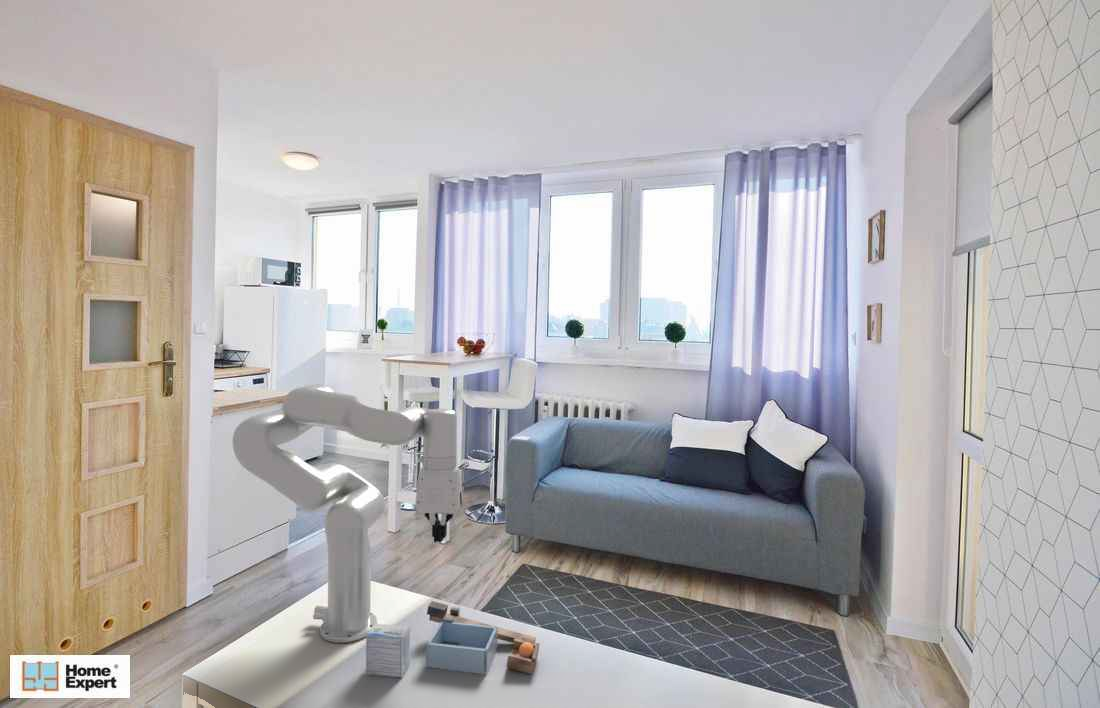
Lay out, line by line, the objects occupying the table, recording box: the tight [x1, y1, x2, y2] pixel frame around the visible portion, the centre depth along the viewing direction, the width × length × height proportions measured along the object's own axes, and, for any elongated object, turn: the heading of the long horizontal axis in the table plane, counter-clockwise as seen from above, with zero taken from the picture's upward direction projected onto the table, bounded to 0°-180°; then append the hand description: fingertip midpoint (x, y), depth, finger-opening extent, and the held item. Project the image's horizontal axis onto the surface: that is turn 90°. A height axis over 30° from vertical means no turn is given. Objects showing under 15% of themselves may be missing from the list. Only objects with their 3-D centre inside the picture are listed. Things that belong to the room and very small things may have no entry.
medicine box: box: [365, 623, 411, 679], centre depth 110 cm, size 8×4×9 cm, turn 84°
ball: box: [519, 642, 534, 659], centre depth 113 cm, size 3×3×3 cm
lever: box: [426, 600, 540, 675], centre depth 117 cm, size 27×11×3 cm, turn 82°
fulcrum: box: [442, 606, 461, 645], centre depth 122 cm, size 6×7×6 cm
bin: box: [425, 621, 499, 675], centre depth 115 cm, size 13×9×5 cm
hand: (439, 539), depth 123 cm, fingers closed
